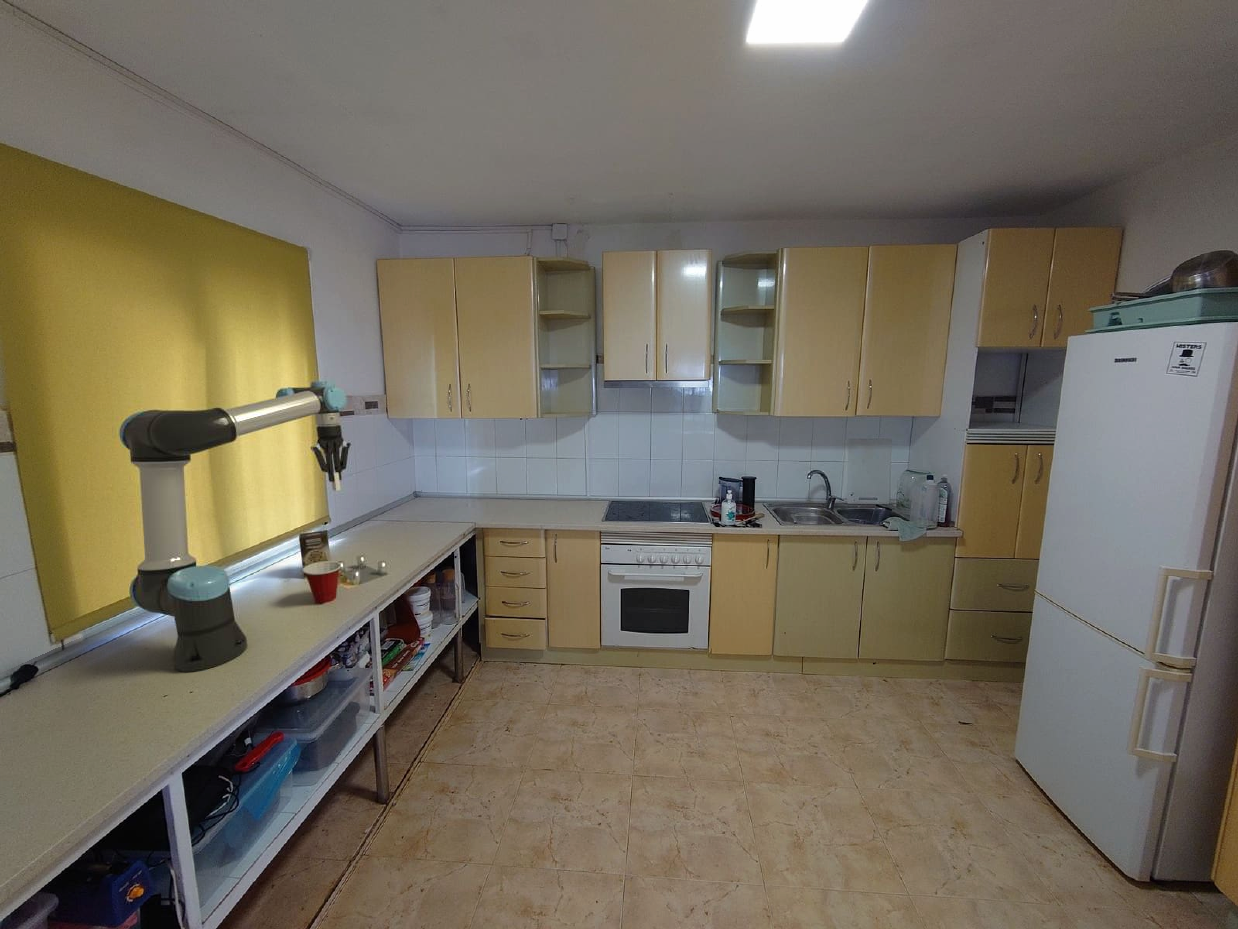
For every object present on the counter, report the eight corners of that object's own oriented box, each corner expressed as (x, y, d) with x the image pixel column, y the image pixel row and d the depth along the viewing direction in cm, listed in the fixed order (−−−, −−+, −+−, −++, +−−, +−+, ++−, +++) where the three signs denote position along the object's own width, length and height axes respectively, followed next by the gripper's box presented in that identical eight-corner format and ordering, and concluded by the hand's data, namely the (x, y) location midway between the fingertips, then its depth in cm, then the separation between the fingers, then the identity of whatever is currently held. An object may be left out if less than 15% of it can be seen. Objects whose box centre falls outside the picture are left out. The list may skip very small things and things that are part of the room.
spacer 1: (339, 577, 181) (337, 564, 180) (335, 575, 182) (334, 562, 181) (347, 574, 183) (345, 562, 182) (343, 573, 184) (341, 560, 184)
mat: (347, 590, 169) (347, 588, 169) (324, 579, 179) (323, 578, 179) (388, 575, 181) (388, 574, 181) (364, 566, 191) (364, 565, 191)
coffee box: (303, 580, 178) (297, 538, 176) (304, 574, 184) (298, 533, 181) (332, 575, 183) (327, 533, 180) (332, 569, 188) (327, 529, 186)
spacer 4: (381, 577, 180) (380, 564, 179) (377, 575, 181) (376, 562, 180) (388, 574, 182) (387, 561, 181) (384, 573, 184) (383, 560, 183)
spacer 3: (360, 570, 186) (359, 558, 185) (356, 569, 188) (355, 556, 187) (367, 568, 189) (366, 556, 188) (363, 567, 190) (362, 554, 189)
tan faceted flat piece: (336, 585, 172) (335, 578, 172) (330, 582, 175) (329, 576, 174) (350, 580, 176) (349, 574, 176) (344, 578, 179) (343, 571, 178)
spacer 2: (355, 587, 171) (353, 573, 171) (350, 585, 173) (349, 572, 172) (362, 584, 174) (361, 571, 173) (358, 582, 175) (357, 569, 174)
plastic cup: (335, 607, 157) (331, 571, 154) (300, 609, 156) (295, 573, 154) (351, 592, 167) (347, 559, 165) (318, 594, 166) (313, 560, 164)
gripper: (313, 427, 166) (322, 494, 170) (352, 423, 177) (359, 487, 181) (303, 426, 170) (312, 492, 174) (342, 423, 181) (349, 485, 185)
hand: (336, 489), depth 177 cm, fingers closed
